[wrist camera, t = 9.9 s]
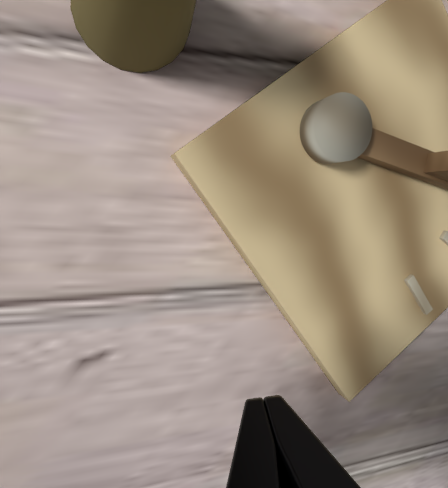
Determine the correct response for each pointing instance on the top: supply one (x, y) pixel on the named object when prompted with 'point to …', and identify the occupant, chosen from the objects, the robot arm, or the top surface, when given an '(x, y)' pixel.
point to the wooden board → (341, 194)
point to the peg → (365, 140)
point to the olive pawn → (134, 30)
